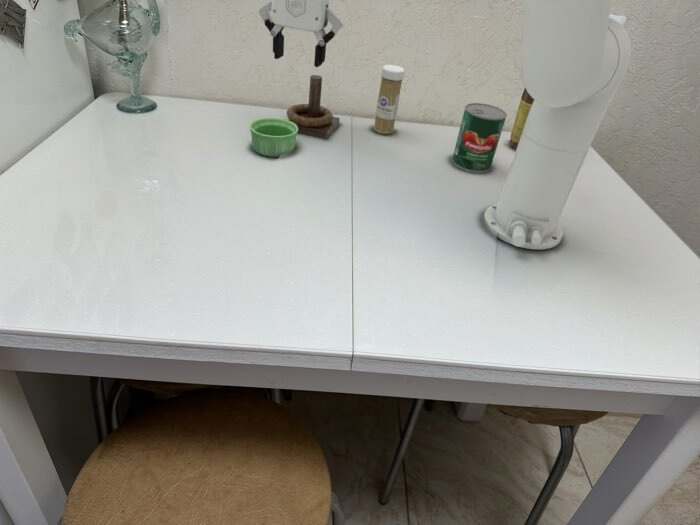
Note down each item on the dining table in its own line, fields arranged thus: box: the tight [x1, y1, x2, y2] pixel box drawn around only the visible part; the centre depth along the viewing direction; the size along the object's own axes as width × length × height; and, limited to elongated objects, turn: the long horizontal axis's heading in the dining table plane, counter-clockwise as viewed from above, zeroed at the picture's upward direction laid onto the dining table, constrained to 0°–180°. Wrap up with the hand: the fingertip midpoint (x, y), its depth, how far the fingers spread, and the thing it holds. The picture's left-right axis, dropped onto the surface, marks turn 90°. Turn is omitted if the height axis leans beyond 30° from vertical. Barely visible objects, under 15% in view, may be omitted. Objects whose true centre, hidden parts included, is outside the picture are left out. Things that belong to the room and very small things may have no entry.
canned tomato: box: [451, 102, 508, 174], centre depth 95 cm, size 8×8×11 cm
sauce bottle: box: [509, 87, 534, 150], centre depth 103 cm, size 6×6×20 cm
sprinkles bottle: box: [373, 64, 405, 135], centre depth 103 cm, size 5×5×14 cm
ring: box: [286, 103, 334, 127], centre depth 103 cm, size 10×10×2 cm
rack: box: [288, 74, 340, 140], centre depth 101 cm, size 9×9×10 cm
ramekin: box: [249, 117, 299, 158], centre depth 93 cm, size 9×9×4 cm
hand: (298, 60), depth 97 cm, fingers open, 7 cm apart
